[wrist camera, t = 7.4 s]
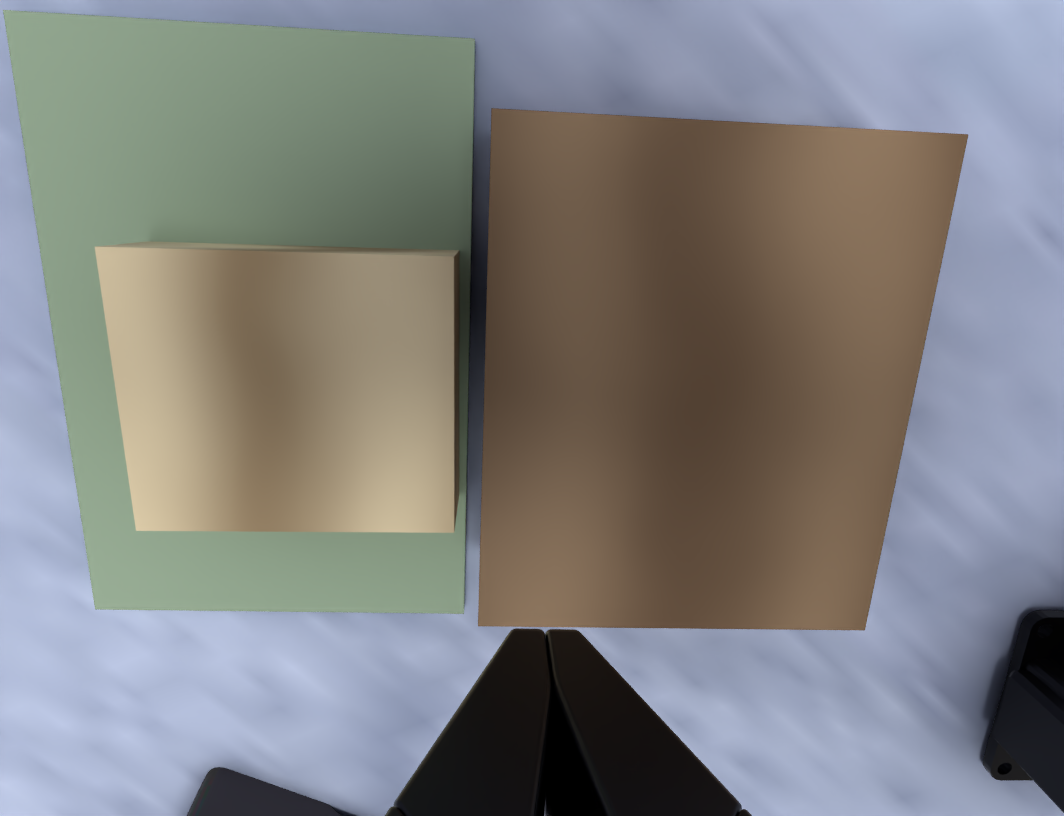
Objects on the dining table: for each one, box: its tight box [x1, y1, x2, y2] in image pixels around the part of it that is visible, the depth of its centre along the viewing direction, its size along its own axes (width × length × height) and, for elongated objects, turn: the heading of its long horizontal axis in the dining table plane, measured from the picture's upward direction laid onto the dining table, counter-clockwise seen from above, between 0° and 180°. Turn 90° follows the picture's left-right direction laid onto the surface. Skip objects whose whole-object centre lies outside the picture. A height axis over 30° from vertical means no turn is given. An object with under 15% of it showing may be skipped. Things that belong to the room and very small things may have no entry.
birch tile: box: [95, 241, 459, 533], centre depth 18 cm, size 8×7×2 cm
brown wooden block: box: [478, 108, 968, 630], centre depth 18 cm, size 10×12×4 cm
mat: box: [3, 10, 475, 614], centre depth 19 cm, size 11×16×1 cm
